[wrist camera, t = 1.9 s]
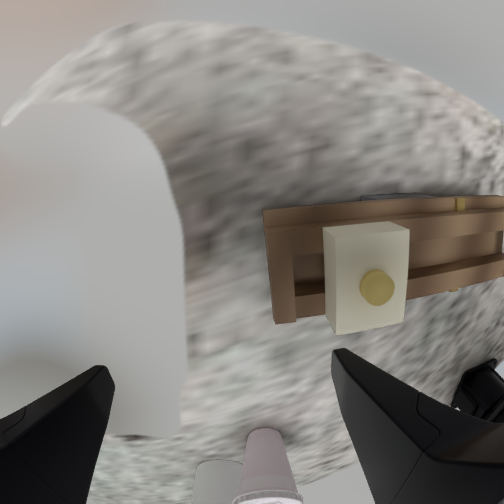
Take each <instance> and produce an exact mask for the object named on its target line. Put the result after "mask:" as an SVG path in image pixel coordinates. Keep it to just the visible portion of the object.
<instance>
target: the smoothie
mask: <svg viewBox="0 0 504 504" xmlns="http://www.w3.org/2000/svg"><path fill="white" fill-rule="evenodd" d="M233 504H303V497H302V495H300V494H299V493H298V492H297V488H296V484H295V481H294V478H293V474H292V471H291V468H290V464H289V461H288V457H287V454H286V451H285V447H284V444H283V440H282V437H281V434H280V433H279V432H278V431H277V430H274V429H270V428H261V429H257V430H254V431H252V432H251V433H250V434H249V435H248V438H247V444H246V450H245V456H244V461H243V467H242V473H241V478H240V484H239V488H238V495H237V497H236V498H234V500H233Z"/></svg>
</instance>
